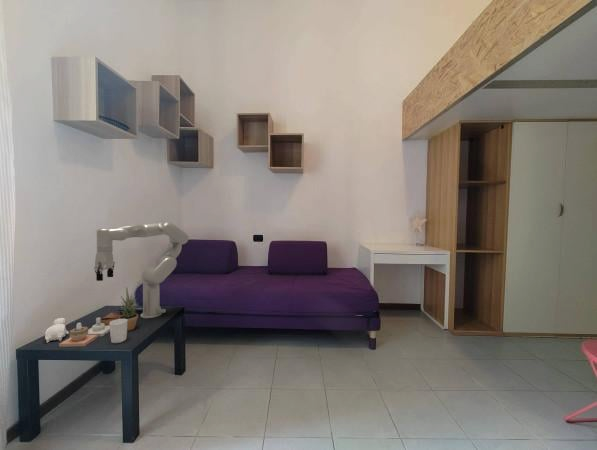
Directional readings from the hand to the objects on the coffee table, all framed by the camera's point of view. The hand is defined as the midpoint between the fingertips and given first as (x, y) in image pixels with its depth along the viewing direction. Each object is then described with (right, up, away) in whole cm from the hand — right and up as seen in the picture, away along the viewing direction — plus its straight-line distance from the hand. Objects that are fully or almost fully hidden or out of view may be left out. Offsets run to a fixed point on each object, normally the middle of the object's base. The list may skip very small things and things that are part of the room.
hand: (105, 278), depth 161 cm
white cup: (+19, -29, -17) cm, 39 cm away
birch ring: (0, -25, -19) cm, 32 cm away
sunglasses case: (-3, -29, +9) cm, 30 cm away
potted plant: (+15, -29, -2) cm, 32 cm away
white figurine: (-16, -29, -14) cm, 36 cm away
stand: (+1, -29, -7) cm, 29 cm away
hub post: (0, -29, -19) cm, 35 cm away
